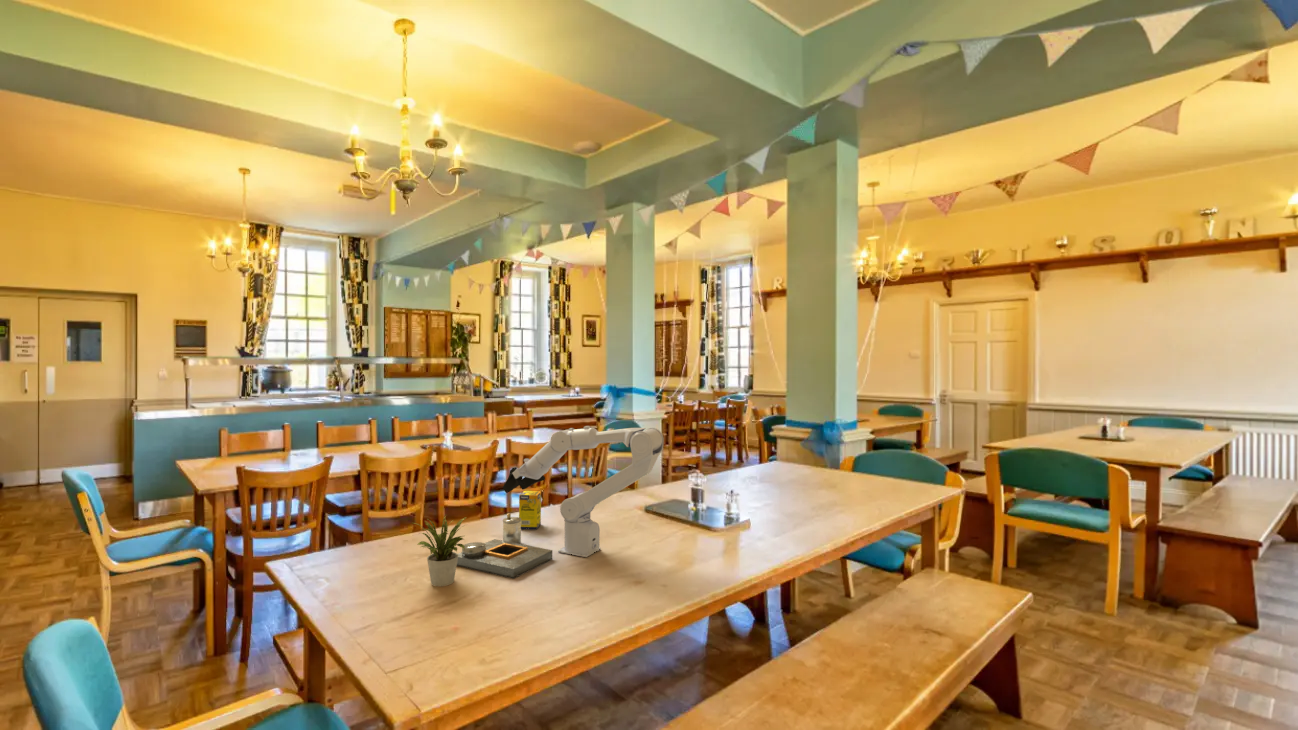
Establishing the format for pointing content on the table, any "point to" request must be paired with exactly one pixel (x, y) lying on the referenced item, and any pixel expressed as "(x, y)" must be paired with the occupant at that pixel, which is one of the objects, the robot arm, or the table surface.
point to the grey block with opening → (502, 557)
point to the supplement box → (530, 509)
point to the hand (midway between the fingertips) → (513, 488)
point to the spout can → (512, 529)
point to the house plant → (442, 553)
